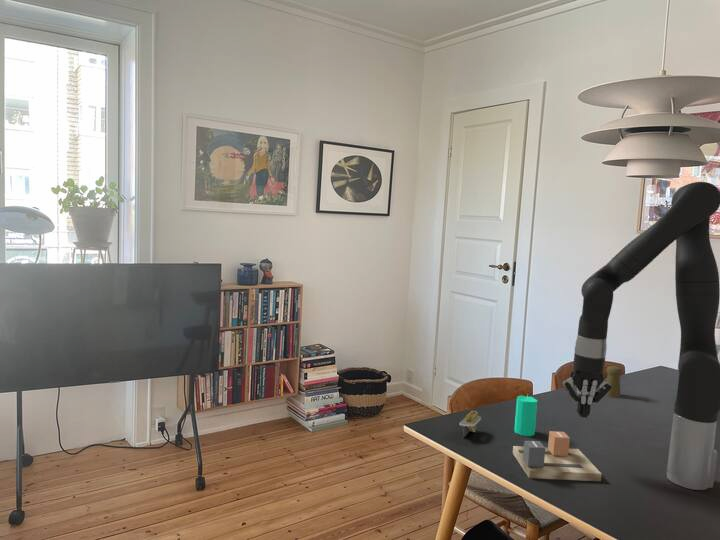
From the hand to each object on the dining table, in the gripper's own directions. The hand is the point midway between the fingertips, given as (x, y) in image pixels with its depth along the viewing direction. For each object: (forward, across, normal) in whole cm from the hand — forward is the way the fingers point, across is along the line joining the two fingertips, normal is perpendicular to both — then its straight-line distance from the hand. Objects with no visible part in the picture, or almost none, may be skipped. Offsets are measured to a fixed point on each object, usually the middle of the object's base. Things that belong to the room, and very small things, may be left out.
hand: (582, 416), depth 141 cm
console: (+13, -8, -4) cm, 15 cm away
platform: (+14, -26, +15) cm, 33 cm away
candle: (+13, -9, +18) cm, 24 cm away
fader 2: (+10, -6, 0) cm, 12 cm away
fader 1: (+10, -15, -7) cm, 19 cm away
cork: (+13, +37, +58) cm, 70 cm away
